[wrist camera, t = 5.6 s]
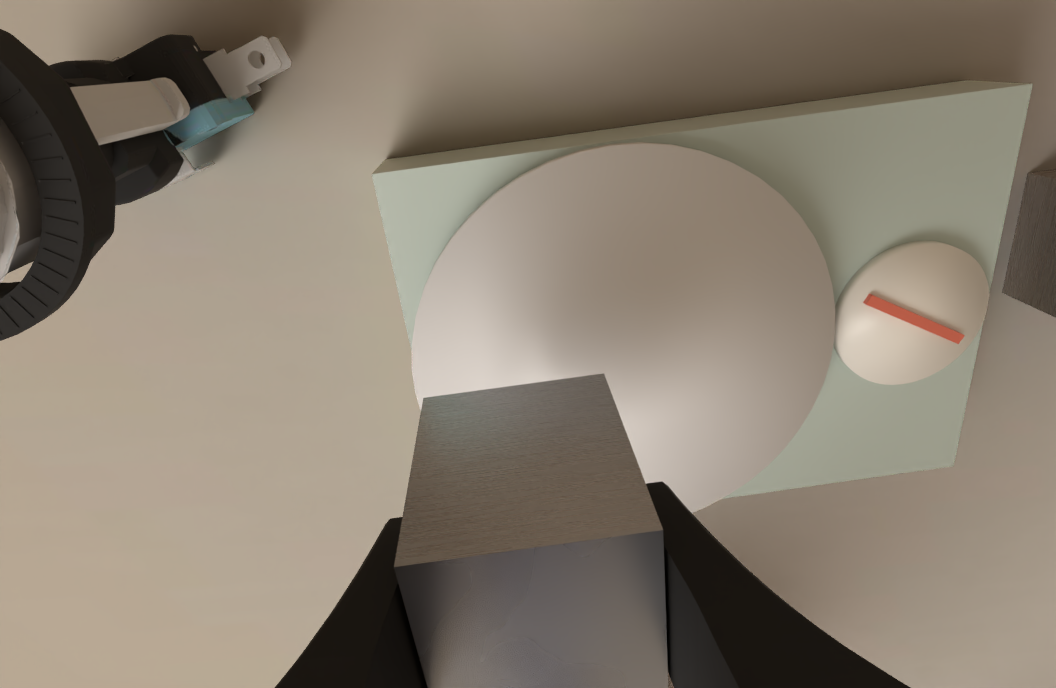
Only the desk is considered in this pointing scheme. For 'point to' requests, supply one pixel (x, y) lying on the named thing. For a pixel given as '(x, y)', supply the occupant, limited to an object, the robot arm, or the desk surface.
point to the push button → (102, 149)
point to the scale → (725, 278)
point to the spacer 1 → (532, 543)
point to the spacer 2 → (1035, 245)
